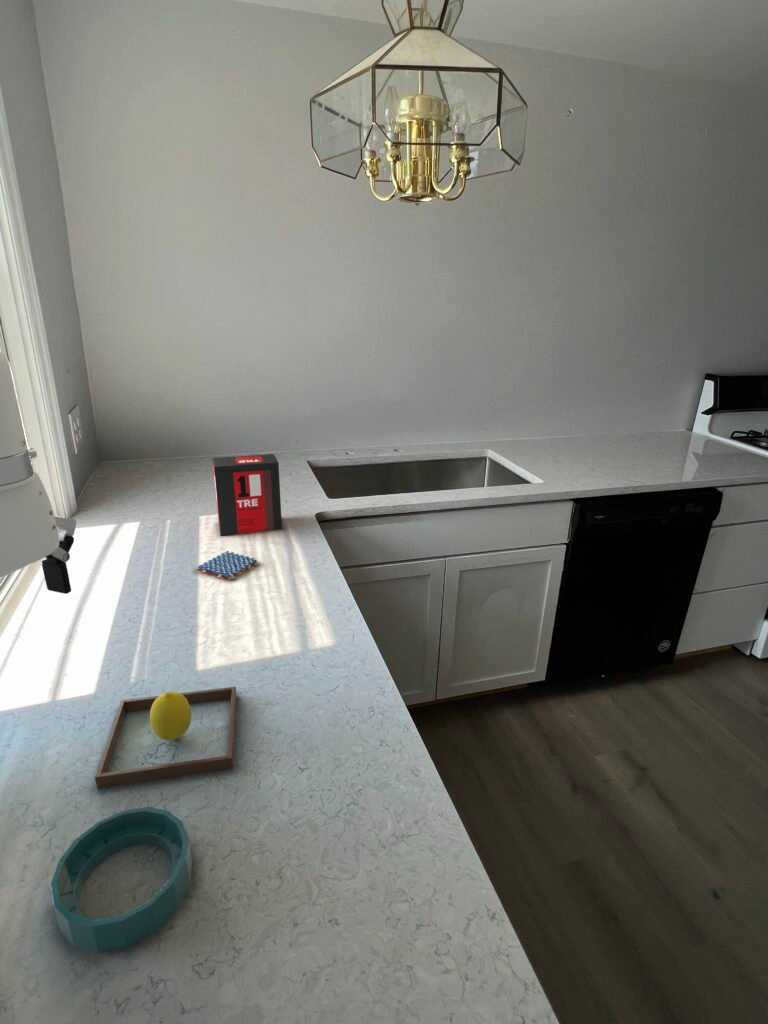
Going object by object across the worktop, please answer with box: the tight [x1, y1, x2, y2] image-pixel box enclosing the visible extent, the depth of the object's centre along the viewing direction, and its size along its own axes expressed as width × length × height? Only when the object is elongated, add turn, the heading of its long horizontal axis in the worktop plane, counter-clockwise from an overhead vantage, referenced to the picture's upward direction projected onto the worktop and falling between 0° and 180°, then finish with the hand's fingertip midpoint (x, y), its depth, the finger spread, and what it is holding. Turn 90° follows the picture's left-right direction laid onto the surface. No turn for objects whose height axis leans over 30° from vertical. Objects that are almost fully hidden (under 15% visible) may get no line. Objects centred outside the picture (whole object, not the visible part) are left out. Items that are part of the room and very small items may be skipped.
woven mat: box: [196, 550, 258, 581], centre depth 132 cm, size 10×11×2 cm
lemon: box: [149, 691, 192, 741], centre depth 80 cm, size 6×6×8 cm
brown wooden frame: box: [94, 686, 238, 790], centre depth 81 cm, size 17×15×2 cm
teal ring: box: [50, 806, 193, 954], centre depth 60 cm, size 13×13×4 cm
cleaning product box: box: [212, 453, 283, 537], centre depth 153 cm, size 16×9×20 cm, turn 108°
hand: (25, 610), depth 65 cm, fingers open, 9 cm apart
